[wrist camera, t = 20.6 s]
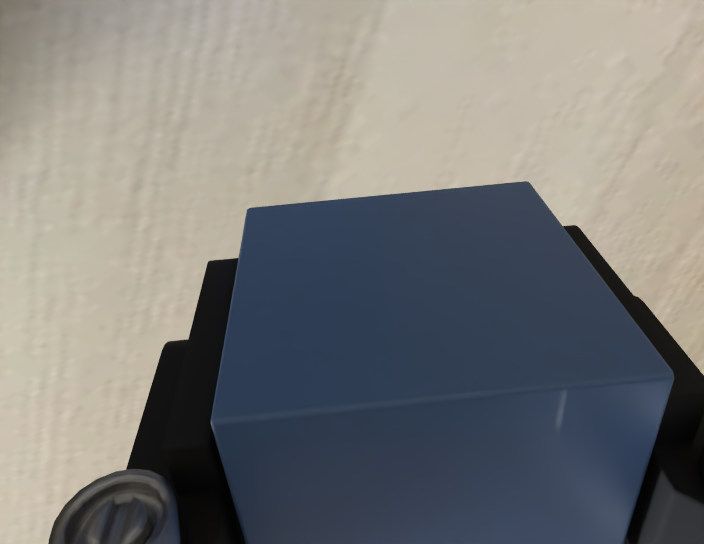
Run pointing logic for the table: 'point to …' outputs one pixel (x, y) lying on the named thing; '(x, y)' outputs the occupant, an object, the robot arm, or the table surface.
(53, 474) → the table surface
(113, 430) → the table surface
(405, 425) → the blue block
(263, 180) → the table surface
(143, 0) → the table surface
